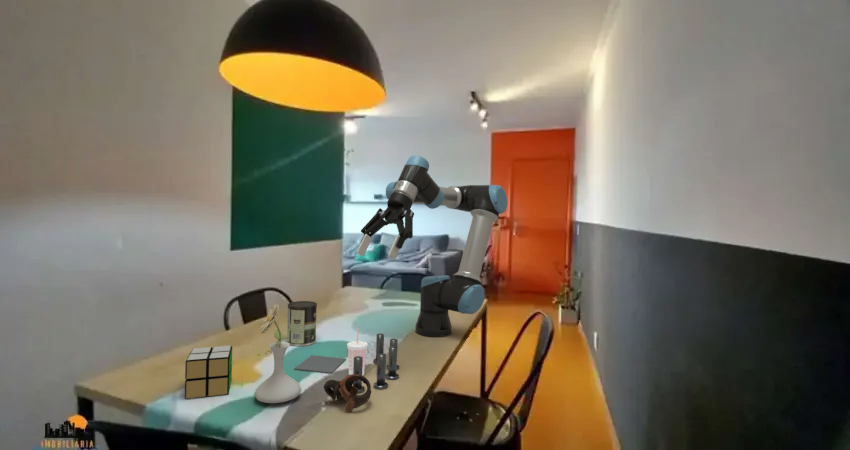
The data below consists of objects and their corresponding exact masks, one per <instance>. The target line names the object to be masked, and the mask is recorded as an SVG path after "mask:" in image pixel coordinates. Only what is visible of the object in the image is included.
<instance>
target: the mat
mask: <svg viewBox="0 0 850 450" xmlns="http://www.w3.org/2000/svg"><path fill="white" fill-rule="evenodd" d="M345 361H347V358H345V357H344V358H343V357H333V356H323V355H315V354H314V355H313V354H312V355H310V356H309V357H307V358H306V359H305V360H304V361H302V362H301V363H299V364H298V365H296V366H295V367H294V371H300V372H301V371H302V372H313V373H321V374H322V373H323V374H331V375H333V373H335V371H336V370H338V369H339V367H340V366H342V365H343V364H344V363H345Z"/></svg>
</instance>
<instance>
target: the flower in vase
mask: <svg viewBox="0 0 850 450" xmlns="http://www.w3.org/2000/svg"><path fill="white" fill-rule="evenodd" d="M279 310H280V305H279V304H273V306H272V308H270V309H268V313H267V317H265V318H263V320H262V322H263V324H262V326H261V327H260V328H259V331H260V334H261V335H262V334H266V332H268V330H269V329H270V328H271V326H272V324H275V326H276V330H275V331H274V333H273V337H274V338H275V339H276V340H277V342H272V343H270V344H268V347H269V349H270V350H271V351H272V355H273V361H274V362H273V363H274V365H273V372H272V374H271V375H270V376H269V377H268V378H266V379H265V380H264V381H262V382H261V383H260V384H259V385H258V386H257V387H256V388H255V391H254V393H253V395H254V397H255V398H256V400H257V401H259V402H261V403H266V404H281V403H285V402H288V401H291V400H293V399H295V398H297V397H298V396H299V395H300V393H301V391H302V388H301V385H300V383H299V382H297V380H295V379H294V378H293V377H290V376H289V375H287V373H286V372H285V369H284V362H285V361H284V360H285V355H286V351H287V349H288V348H289V346H291V345H290V344H289V343H287V341H286V342H285V341H283V339H284V338H285V335H284V334H283V332H281V330H280V327H279V325H278V324H277V321H276V318H277V315H278V313H279Z"/></svg>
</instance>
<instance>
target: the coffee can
mask: <svg viewBox="0 0 850 450" xmlns="http://www.w3.org/2000/svg"><path fill="white" fill-rule="evenodd" d="M317 306H318V303H317V302H315V301H312V300H311V301H309V300H301V301H293V302H289V303H287V335H286V336H287V339H286V342H287V343H289V344H290V345H289V346H292V347H307V346H310V345H311V346H312V345H313V344H315V343H316V341H317V339H316V337H317Z"/></svg>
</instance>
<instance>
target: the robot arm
mask: <svg viewBox="0 0 850 450" xmlns="http://www.w3.org/2000/svg"><path fill="white" fill-rule="evenodd" d="M429 169H430V164H429V161H428V159H426V158H425V157H423V156H421V155H411V156H410V157H409V158H408V159H407V161H406V162H405V164H404V166H403V169H402V171H401V173H400V175H399V177H398V179H397V181H392V182H389V183H388V184H387V185H386V187H385V197H386V199H387V202H386V203H387V207H386V209H382V208H381V207H380V208H378V209H377V211H376V213H375V214H374V215H373V216H372V218H371V219H369V221H368V222H367V223H366V224H365V225H364V226H363V227H362V229H360V232H361V234H362V235H363V236H362V239H360V241H359V242H360V244H359V245H358V248H357V250H356V253H357V254H358V255H360V256H361V257H364V256H365V254H366V252H367V250H368V249H369V246H370V244H371V242H372V240H373V238H372V237H373V236H374V235H375V234H377V233H378V232H379V231H380V230H382V228H384V227H385V226H388V225H396V227H397V228H396V229H397V232H398V235H396V236H395V239H394V240H393V243H392V246H391V247H390V250H389V252H388V254H387V256H388V257H390V258H391V259H392V260H393V261H394V260H396V259H397V257H398V255H399V252H400V250H401V249H402V248H403V247H404V244H405V241H407V240H408V239H411V240H412V238H413V237H414V235H413V234H414V233H413V231H414V230H413V227H414V224H413V218H414V216H415V212H414V211H413V210H412V209H411V208H412V206H413V204H420V205H424V206H426V207H427V208H428V209H431V210H432V209H437V208H439V207H441V206H443V207H445V208H448V209H451V210H457V211H463V212H467V213H468V212H469V213H470V215H471V216H472V219H471V223H470V227H469V230H468V234H467V237H466V241H465V242H466V243H465V245H464V249H463V253H462V256H461V261H460V264H459V267H458V271H457V272H455V273H454V274H453V276H452V279H451V277H450V275H443V274H441V275H430V276H428V275H427V276H424V277H423V278H422V279H421V283H420V284H421V285H420V301H419V302H420V306H419V307H420V308H419V310H420V311H419V315H418V318H417V319H416V320H417V321H416V323H415V327H414V328H415V329H414V332H415V333H416V334H418V335H421V336H425V337H433V338H438V337H440V338H441V337H447V336H450V335H451V334H452V333H453V332H452V331H453V329H452V328H453V327H452V322H451V319H450V316H449V315H450V314H449V311H452V312H457V313H460V314H462V315H464V314H466V315H473V314H475V313H477V312H478V311H479V310H480V309H481V308H482V306H483V304H484V301H485V297H486V293H485V288H484V287H483V286H482V285H483V284H482V283H483V281H482V280H481V278H480V276H481V272H482V267H483V264H484V260H485V257H486V252H487V248H488V244H489V240H490V238H491V237H490V236H491V233H492V229H493V225H494V222H497V221H498V220H499V216H500V214H504V213H505V212H506V211H507V209H508V196H507V193H506V190H505V189H504V187H503V186H501V185H499V184H481V185H479V184H477V185H476V184H475V185H474V184H470V185H462V186H456V185H454V186H452V185H451V186H449V187H444V186H439V185H438V184H437V183H436V182H435V180H434V179H433V178H432V177H431V175H430V174H429V173H428V171H429Z"/></svg>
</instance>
